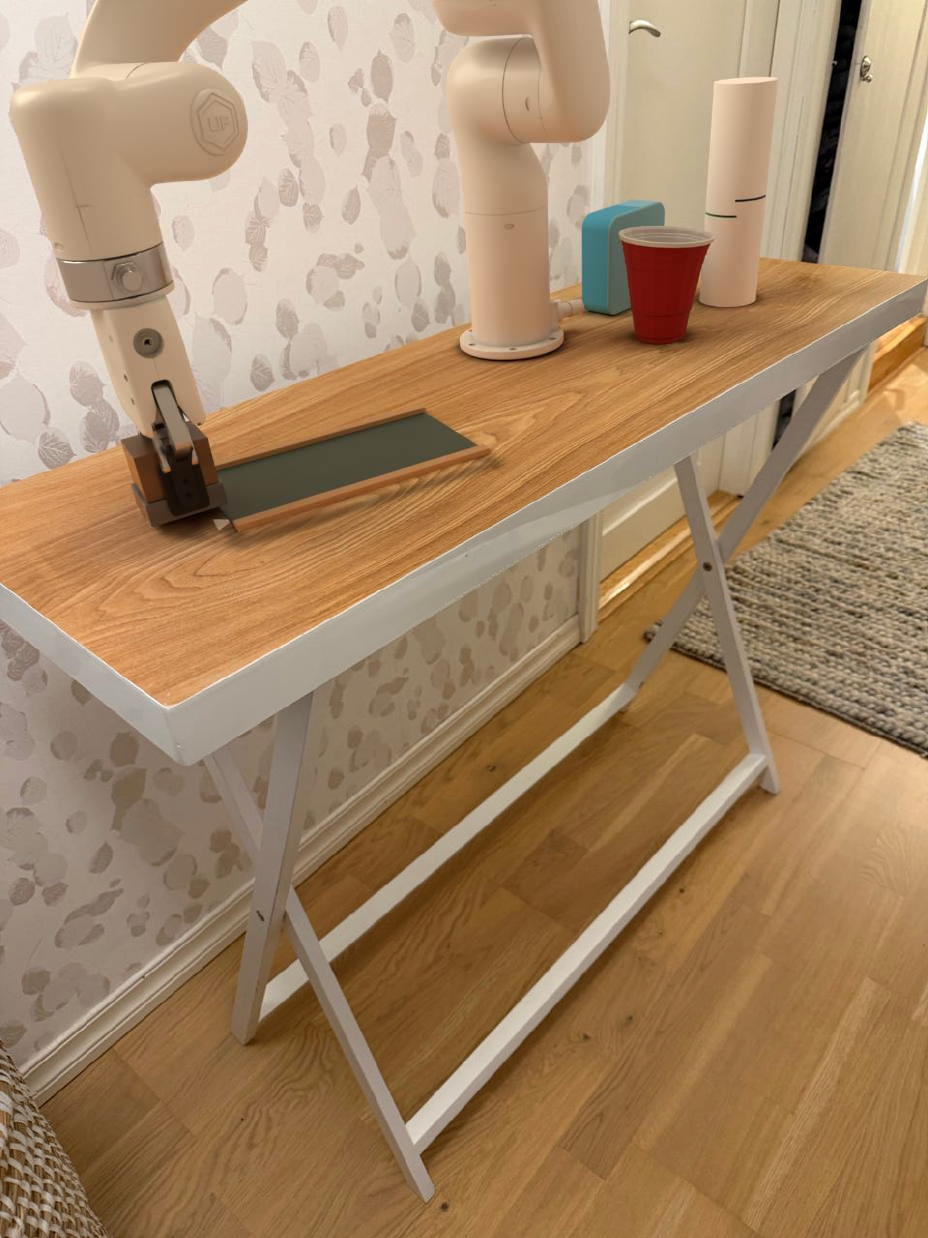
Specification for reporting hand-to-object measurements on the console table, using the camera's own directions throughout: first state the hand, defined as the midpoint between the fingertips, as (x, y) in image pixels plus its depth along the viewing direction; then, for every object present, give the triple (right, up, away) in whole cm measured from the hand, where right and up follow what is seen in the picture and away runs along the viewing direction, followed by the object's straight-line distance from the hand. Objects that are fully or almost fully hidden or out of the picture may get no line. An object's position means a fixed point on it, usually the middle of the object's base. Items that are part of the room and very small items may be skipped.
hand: (180, 495), depth 78 cm
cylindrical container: (+58, +32, +44) cm, 80 cm away
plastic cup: (+48, +23, +34) cm, 63 cm away
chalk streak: (+2, -3, 0) cm, 4 cm away
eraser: (0, -1, 0) cm, 1 cm away
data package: (+45, +32, +46) cm, 72 cm away
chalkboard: (+12, +3, +8) cm, 15 cm away
